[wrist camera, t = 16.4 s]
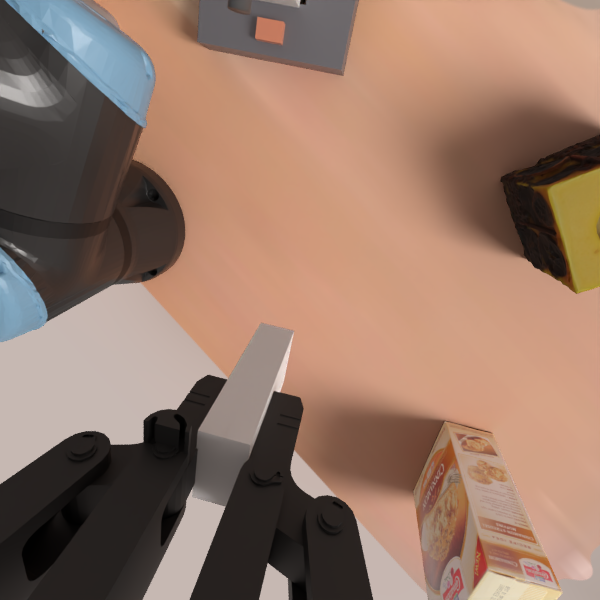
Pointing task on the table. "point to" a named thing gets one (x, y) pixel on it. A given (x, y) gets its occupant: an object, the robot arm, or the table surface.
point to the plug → (242, 3)
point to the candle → (560, 214)
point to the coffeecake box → (477, 524)
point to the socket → (282, 32)
